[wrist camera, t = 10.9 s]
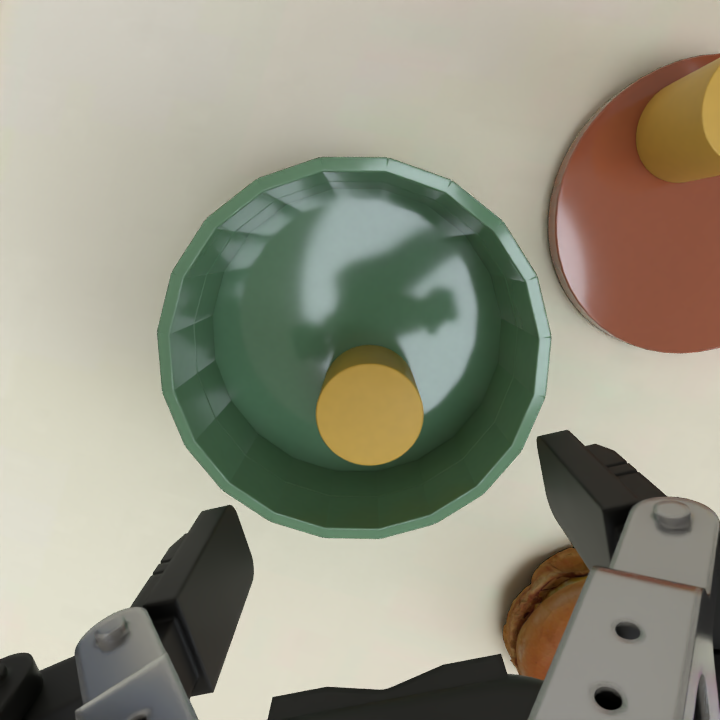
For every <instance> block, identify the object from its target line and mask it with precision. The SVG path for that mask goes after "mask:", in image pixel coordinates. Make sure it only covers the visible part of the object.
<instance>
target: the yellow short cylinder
mask: <svg viewBox="0 0 720 720" xmlns="http://www.w3.org/2000/svg"><path fill="white" fill-rule="evenodd" d="M423 419H424V409H423V403H422V400H421V397H420V394H419V391H418V388H417V385H416V382H415V380H414V377H413V374H412V371H411V369H410V367H409V366H408V364H407V363H406V362H405V361H404V360H403V358H402V357H400V356H399V355H398V354H397V353H395V352H394V351H392V350H390V349H388V348H385V347H382V346H377V345H362V346H357V347H354V348H351V349H349V350H347V351H345V352H344V353H342V354H341V355H340V356H338V357H337V358H336V359H335V360H334V362H333V363H332V364H331V366H330V367H329V369H328V371H327V373H326V376H325V379H324V382H323V386H322V389H321V392H320V395H319V398H318V401H317V406H316V423H317V427H318V430H319V433H320V435H321V437H322V439H323V441H324V442H325V444H326V445H327V446H328V447H329V448H330V449H331V450H332V451H333V452H334V453H335V454H336V455H338V456H339V457H341V458H343V459H344V460H347V461H349V462H352V463H355V464H359V465H368V466H372V465H380V464H385V463H388V462H391V461H393V460H395V459H397V458H399V457H400V456H402V455H403V454H404V453H406V452H407V451H408V450H409V449H410V448H411V447H412V446H413V444H414V443H415V441H416V440H417V438H418V436H419V434H420V432H421V429H422V425H423Z"/></svg>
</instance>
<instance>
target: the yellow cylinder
mask: <svg viewBox="0 0 720 720" xmlns="http://www.w3.org/2000/svg"><path fill="white" fill-rule="evenodd" d="M636 146H637V151H638V154H639V157H640V159H641V161H642V163H643V165H644V166H645V167H646V169H647V170H648V171H649V172H650V173H652V174H653V175H654V176H656V177H657V178H659V179H661V180H664V181H667V182H672V183H683V182H689V181H694V180H699V179H704V178H709V177H714V176H719V175H720V58H718V59H716V60H714V61H713V62H711V63H709V64H707V65H705V66H703V67H701V68H700V69H698V70H696V71H694V72H692V73H690V74H688V75H686V76H685V77H683V78H681V79H679V80H677V81H675V82H673V83H672V84H670V85H668V86H666V87H664V88H663V89H662V90H660V91H659V92H658V93H657V94H656V95H654V97H653V98H652V99H651V100H650V101H649V103H648V104H647V105H646V107H645V109H644V110H643V112H642V114H641V117H640V119H639V122H638V126H637V132H636Z"/></svg>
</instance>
